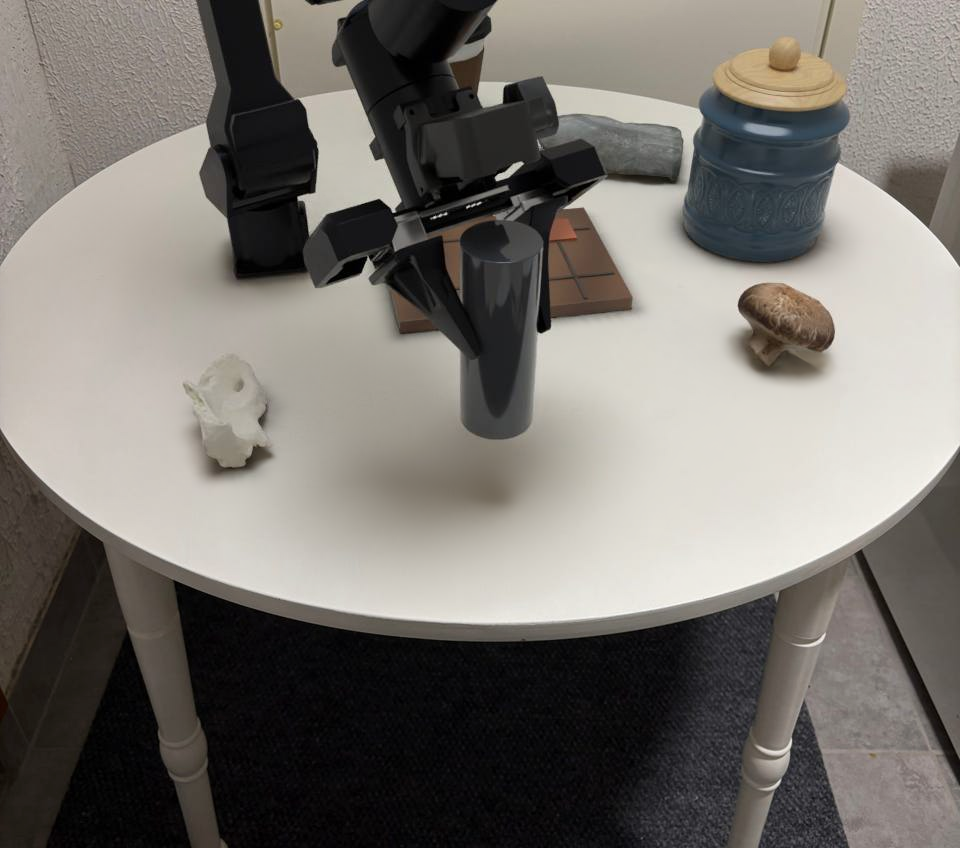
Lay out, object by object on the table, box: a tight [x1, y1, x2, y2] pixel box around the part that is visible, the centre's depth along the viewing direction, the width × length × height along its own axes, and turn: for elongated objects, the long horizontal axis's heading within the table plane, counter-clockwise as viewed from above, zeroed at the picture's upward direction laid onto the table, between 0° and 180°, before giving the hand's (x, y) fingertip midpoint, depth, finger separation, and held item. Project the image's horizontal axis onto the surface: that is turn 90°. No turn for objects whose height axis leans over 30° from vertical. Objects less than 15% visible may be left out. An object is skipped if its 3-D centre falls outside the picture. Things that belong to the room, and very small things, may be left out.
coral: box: [182, 352, 274, 469], centre depth 76 cm, size 6×10×4 cm, turn 17°
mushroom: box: [737, 282, 836, 367], centre depth 84 cm, size 8×8×6 cm
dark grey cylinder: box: [459, 220, 543, 441], centre depth 64 cm, size 5×5×13 cm
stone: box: [537, 113, 685, 181], centre depth 109 cm, size 11×4×15 cm
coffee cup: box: [447, 14, 493, 95], centre depth 112 cm, size 11×11×12 cm
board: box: [388, 207, 634, 334], centre depth 93 cm, size 20×16×1 cm
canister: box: [682, 36, 851, 263], centre depth 93 cm, size 13×13×18 cm
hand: (511, 344), depth 63 cm, fingers closed on dark grey cylinder, 5 cm apart
